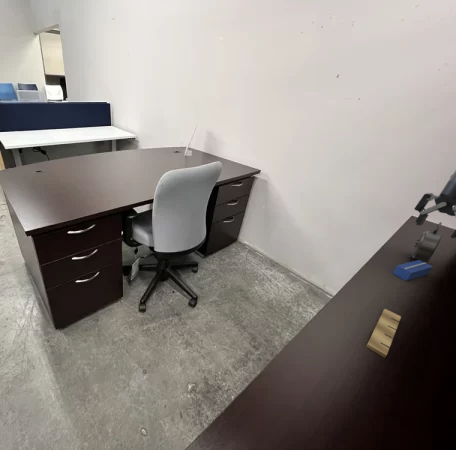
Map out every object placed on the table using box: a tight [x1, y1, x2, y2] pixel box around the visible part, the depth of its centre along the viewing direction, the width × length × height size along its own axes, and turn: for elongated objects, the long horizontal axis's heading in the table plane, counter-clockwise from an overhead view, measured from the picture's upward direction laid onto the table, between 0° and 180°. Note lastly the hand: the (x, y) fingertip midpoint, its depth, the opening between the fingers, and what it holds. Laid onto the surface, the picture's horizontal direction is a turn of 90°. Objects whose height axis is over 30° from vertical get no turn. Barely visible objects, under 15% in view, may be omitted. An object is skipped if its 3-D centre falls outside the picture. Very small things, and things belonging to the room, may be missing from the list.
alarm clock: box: [408, 221, 443, 263], centre depth 87 cm, size 11×5×16 cm, turn 130°
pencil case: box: [392, 259, 434, 282], centre depth 82 cm, size 12×4×4 cm, turn 109°
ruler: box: [365, 308, 402, 359], centre depth 61 cm, size 18×4×1 cm, turn 129°
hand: (435, 230), depth 77 cm, fingers open, 8 cm apart
